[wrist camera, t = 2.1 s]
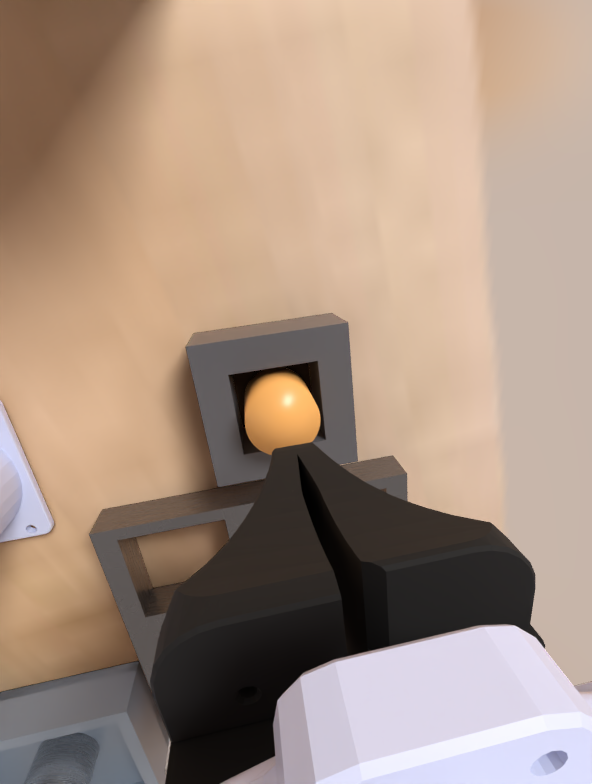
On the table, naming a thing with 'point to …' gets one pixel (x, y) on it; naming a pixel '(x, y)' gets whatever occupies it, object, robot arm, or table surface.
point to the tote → (87, 724)
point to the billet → (64, 760)
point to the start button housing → (263, 351)
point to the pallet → (230, 503)
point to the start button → (279, 410)
